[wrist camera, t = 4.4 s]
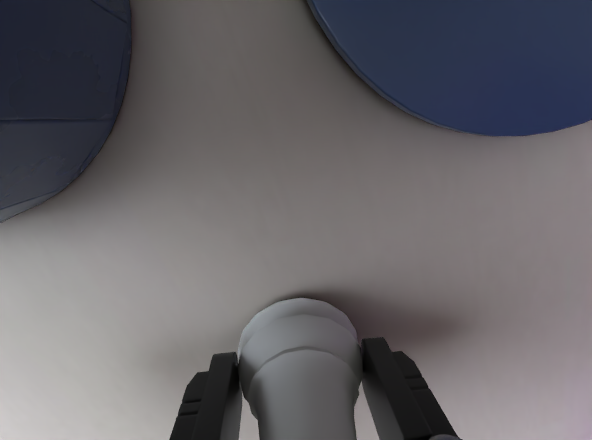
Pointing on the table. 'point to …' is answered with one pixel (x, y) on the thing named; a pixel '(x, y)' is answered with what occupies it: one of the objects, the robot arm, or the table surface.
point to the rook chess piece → (301, 371)
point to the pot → (57, 92)
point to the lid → (471, 59)
